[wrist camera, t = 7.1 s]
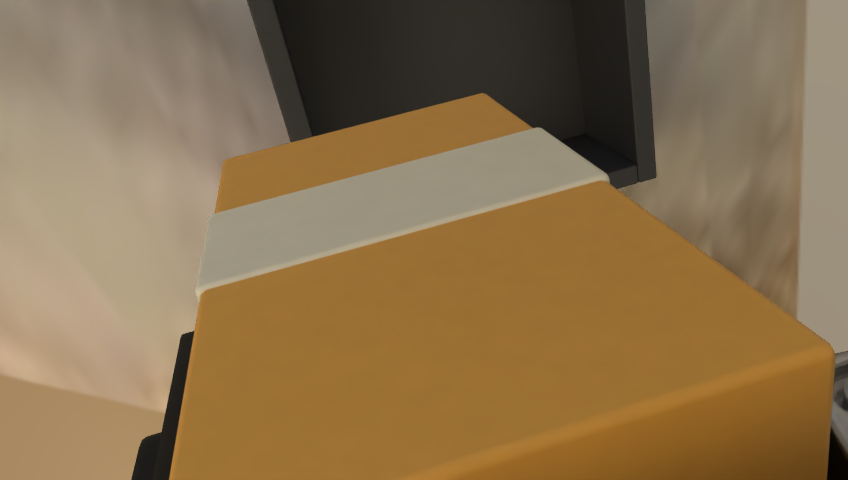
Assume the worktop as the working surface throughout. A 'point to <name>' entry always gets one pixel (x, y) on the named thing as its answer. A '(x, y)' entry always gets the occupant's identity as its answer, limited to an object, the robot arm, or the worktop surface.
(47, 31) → the worktop surface
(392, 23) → the basket
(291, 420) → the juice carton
